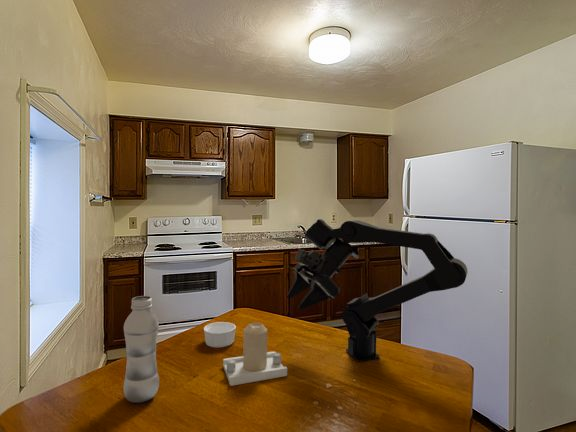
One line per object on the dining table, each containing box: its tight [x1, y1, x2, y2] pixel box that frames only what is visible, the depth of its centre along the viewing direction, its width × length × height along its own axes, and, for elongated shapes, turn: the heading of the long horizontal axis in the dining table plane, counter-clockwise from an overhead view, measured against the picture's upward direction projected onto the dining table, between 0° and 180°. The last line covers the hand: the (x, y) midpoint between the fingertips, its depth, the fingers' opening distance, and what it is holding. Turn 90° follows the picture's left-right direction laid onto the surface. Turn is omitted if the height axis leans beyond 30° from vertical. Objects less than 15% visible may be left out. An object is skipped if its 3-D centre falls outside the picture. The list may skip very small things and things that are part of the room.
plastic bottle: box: [122, 295, 160, 404], centre depth 65 cm, size 6×7×20 cm
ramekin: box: [203, 321, 237, 349], centre depth 93 cm, size 9×9×4 cm
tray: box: [222, 350, 288, 387], centre depth 77 cm, size 13×9×3 cm
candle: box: [242, 321, 268, 372], centre depth 77 cm, size 6×6×10 cm
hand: (293, 303), depth 85 cm, fingers open, 9 cm apart
